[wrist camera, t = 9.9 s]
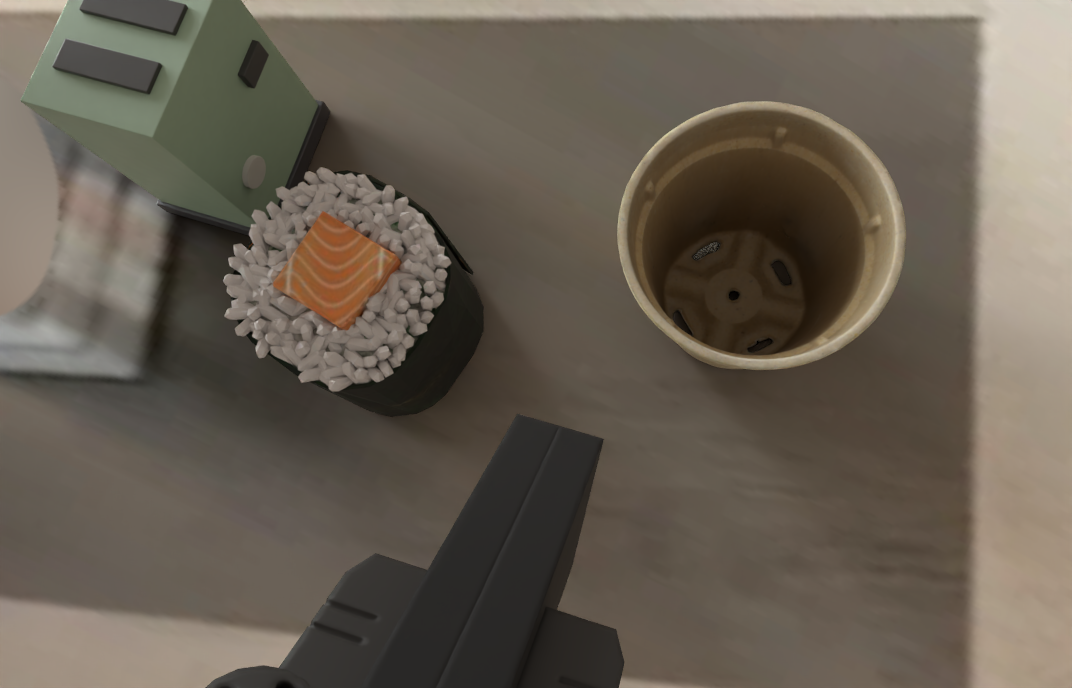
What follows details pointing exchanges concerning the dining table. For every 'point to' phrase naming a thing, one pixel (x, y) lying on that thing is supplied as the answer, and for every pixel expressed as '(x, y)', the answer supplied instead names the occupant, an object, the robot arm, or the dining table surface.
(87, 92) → the toaster
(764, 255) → the flower pot
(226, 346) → the dining table surface
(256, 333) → the sushi
